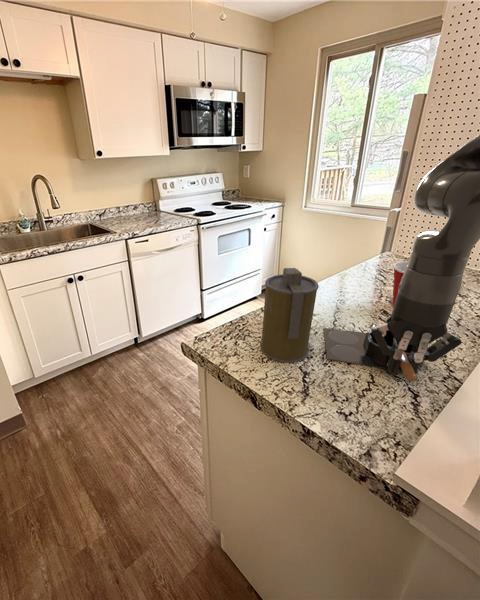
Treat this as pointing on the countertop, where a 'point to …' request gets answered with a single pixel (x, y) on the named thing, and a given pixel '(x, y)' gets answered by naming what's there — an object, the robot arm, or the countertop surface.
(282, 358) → the canister
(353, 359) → the grey slab
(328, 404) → the countertop surface
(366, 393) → the countertop surface
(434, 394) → the countertop surface
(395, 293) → the plastic cup
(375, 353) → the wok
